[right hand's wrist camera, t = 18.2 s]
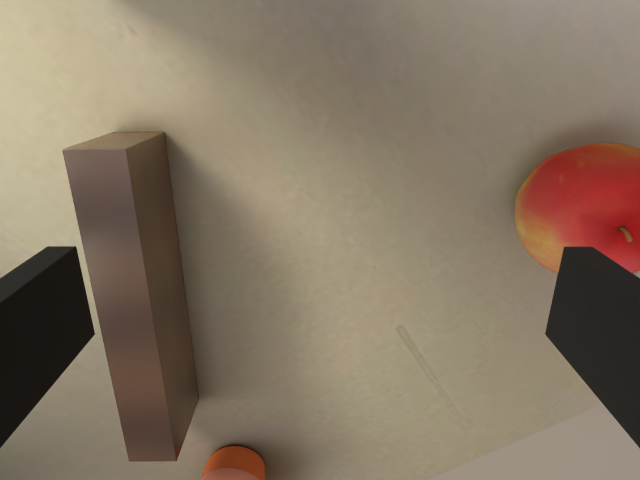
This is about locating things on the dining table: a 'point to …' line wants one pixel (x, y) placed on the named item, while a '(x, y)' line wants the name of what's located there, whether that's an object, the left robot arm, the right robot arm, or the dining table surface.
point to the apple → (583, 205)
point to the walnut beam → (137, 285)
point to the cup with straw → (234, 465)
